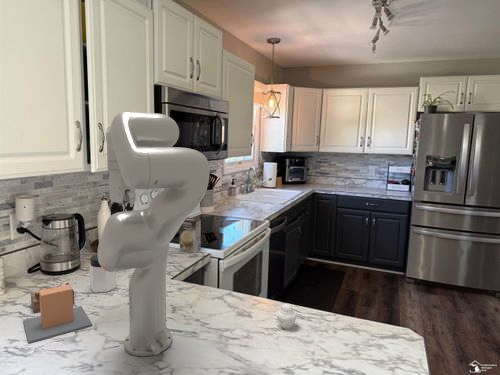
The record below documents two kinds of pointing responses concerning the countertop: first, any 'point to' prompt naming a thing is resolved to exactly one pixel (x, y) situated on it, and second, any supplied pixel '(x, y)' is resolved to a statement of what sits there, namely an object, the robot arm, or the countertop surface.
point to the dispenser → (36, 301)
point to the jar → (100, 277)
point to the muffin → (286, 316)
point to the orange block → (56, 306)
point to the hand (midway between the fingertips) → (121, 220)
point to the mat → (38, 333)
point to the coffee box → (190, 235)
